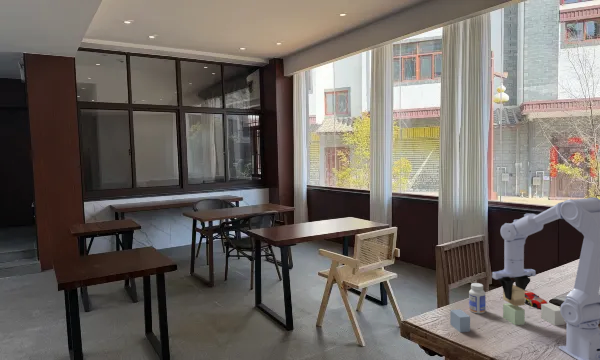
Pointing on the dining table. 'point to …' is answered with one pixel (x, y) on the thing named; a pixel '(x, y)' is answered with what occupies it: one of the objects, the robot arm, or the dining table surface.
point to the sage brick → (514, 314)
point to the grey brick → (551, 314)
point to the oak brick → (516, 296)
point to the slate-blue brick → (460, 320)
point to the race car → (534, 299)
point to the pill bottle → (477, 298)
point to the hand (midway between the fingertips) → (513, 298)
